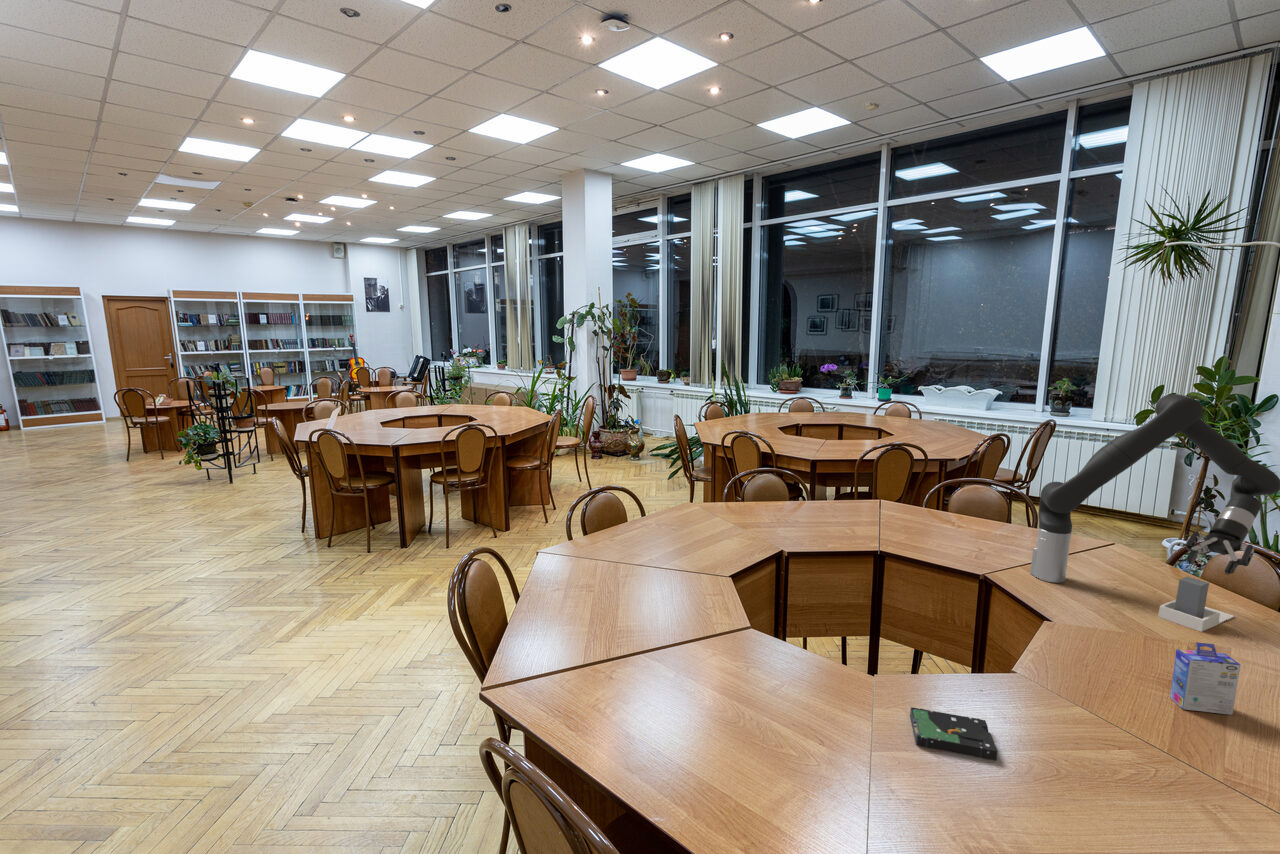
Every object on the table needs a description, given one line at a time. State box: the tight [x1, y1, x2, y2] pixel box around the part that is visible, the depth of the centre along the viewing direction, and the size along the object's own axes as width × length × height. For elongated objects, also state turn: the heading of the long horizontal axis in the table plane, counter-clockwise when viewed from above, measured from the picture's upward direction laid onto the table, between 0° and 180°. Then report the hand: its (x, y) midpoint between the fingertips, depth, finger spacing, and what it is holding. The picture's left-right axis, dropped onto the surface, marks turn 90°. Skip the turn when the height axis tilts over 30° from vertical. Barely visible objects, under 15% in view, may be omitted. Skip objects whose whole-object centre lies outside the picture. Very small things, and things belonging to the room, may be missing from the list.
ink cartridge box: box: [1169, 641, 1242, 716], centre depth 137 cm, size 10×6×14 cm, turn 78°
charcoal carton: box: [1175, 576, 1210, 619], centre depth 178 cm, size 5×5×12 cm
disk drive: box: [909, 706, 998, 761], centre depth 126 cm, size 10×3×15 cm
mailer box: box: [1157, 599, 1235, 633], centre depth 181 cm, size 10×20×4 cm, turn 117°
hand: (1208, 567), depth 179 cm, fingers open, 8 cm apart
